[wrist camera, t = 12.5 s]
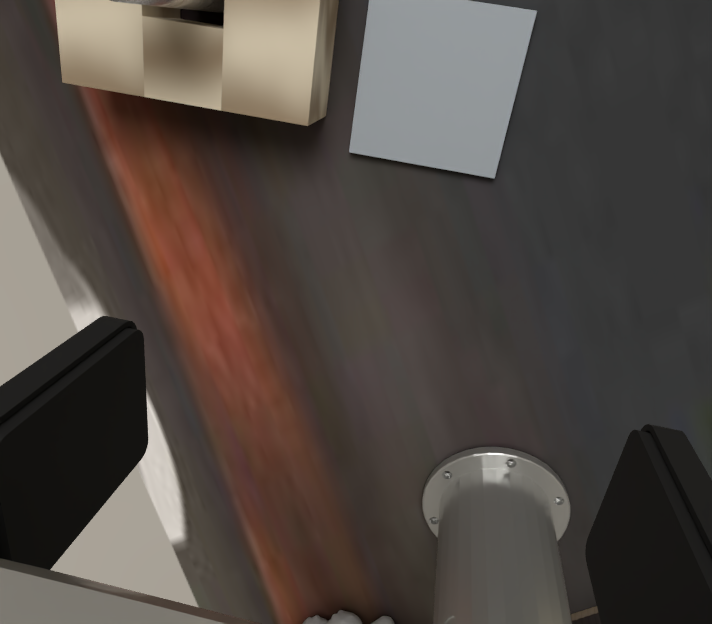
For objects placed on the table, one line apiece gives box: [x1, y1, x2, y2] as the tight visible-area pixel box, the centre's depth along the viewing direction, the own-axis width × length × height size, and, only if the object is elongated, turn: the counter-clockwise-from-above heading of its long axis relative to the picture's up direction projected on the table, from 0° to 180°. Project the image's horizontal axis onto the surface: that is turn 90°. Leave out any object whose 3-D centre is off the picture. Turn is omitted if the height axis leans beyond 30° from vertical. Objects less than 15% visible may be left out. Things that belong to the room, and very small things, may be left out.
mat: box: [349, 0, 537, 179], centre depth 36 cm, size 10×10×1 cm
